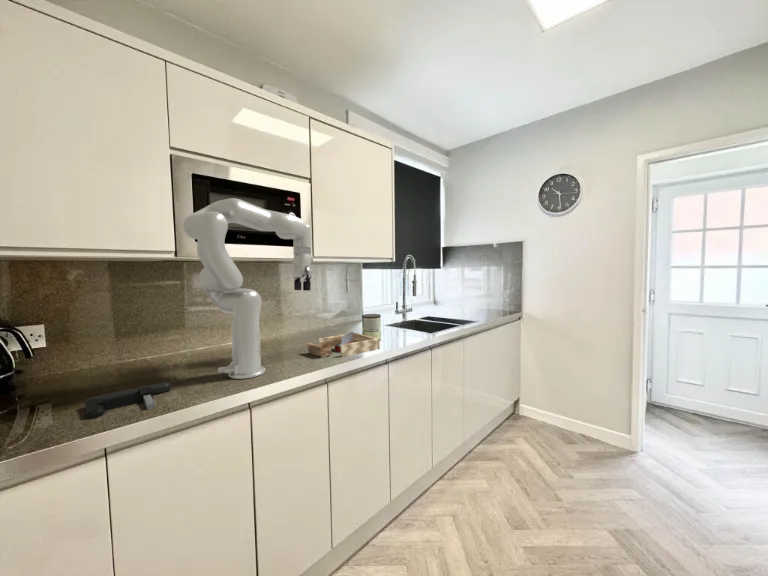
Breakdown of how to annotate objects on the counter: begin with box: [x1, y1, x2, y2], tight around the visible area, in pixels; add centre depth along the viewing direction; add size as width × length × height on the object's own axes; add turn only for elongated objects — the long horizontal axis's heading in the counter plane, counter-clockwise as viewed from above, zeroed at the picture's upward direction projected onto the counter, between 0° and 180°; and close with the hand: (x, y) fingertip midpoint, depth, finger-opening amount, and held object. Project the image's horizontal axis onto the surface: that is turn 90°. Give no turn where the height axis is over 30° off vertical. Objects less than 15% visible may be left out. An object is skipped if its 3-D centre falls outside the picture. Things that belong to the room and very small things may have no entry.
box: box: [318, 332, 381, 357], centre depth 156 cm, size 21×21×5 cm
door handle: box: [84, 381, 171, 420], centre depth 92 cm, size 3×20×16 cm
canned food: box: [334, 331, 355, 353], centre depth 154 cm, size 11×10×10 cm
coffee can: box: [361, 313, 382, 342], centre depth 173 cm, size 10×10×14 cm
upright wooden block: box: [306, 335, 342, 358], centre depth 148 cm, size 5×12×14 cm
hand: (302, 290), depth 143 cm, fingers open, 9 cm apart
